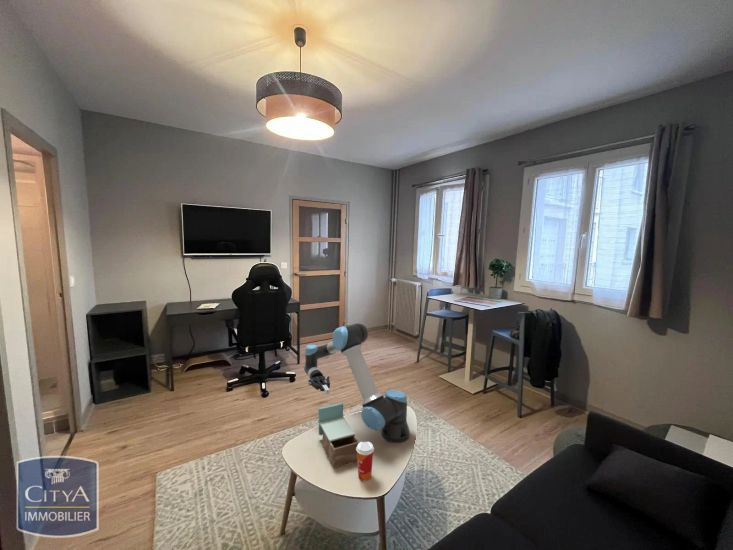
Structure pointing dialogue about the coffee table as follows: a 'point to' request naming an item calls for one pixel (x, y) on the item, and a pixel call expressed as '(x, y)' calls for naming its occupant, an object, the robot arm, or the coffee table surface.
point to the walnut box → (341, 450)
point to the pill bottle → (364, 460)
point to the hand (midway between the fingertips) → (327, 392)
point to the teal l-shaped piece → (334, 423)
